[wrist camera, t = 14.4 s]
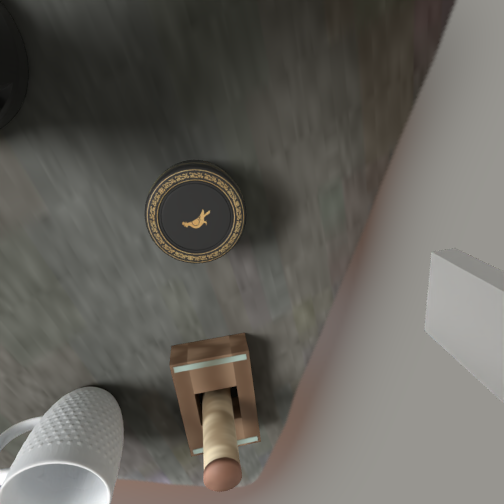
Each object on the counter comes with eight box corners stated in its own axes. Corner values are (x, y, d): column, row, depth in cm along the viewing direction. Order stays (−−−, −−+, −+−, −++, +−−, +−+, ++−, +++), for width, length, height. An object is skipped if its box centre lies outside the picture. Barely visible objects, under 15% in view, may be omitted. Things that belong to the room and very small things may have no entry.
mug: (22, 439, 48) (-36, 545, 36) (10, 374, 44) (-59, 469, 32) (134, 432, 51) (114, 529, 38) (131, 371, 47) (109, 457, 35)
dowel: (203, 399, 50) (206, 495, 37) (199, 377, 49) (200, 469, 36) (231, 393, 51) (244, 486, 38) (227, 371, 49) (239, 460, 36)
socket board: (191, 432, 52) (191, 456, 48) (171, 345, 46) (169, 365, 43) (256, 419, 53) (260, 442, 49) (244, 332, 47) (248, 351, 44)
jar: (255, 192, 41) (268, 207, 34) (206, 256, 43) (208, 283, 36) (185, 138, 38) (182, 141, 31) (135, 210, 39) (121, 229, 32)
